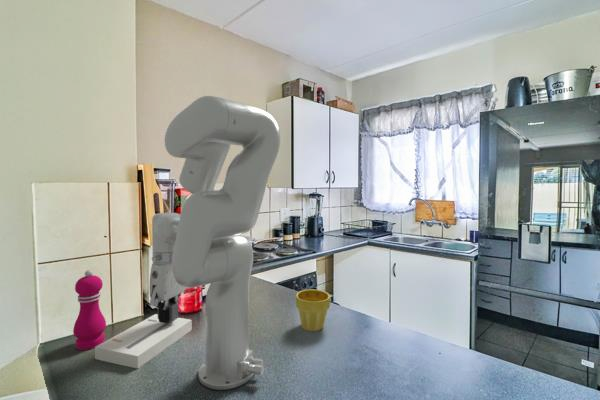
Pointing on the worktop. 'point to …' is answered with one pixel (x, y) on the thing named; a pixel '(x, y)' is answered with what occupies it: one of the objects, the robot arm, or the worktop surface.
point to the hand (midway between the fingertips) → (168, 319)
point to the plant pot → (312, 308)
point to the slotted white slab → (142, 341)
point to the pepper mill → (89, 313)
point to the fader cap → (172, 311)
